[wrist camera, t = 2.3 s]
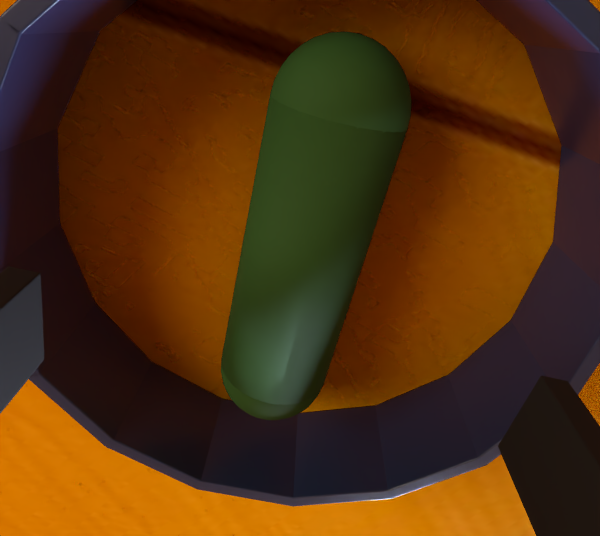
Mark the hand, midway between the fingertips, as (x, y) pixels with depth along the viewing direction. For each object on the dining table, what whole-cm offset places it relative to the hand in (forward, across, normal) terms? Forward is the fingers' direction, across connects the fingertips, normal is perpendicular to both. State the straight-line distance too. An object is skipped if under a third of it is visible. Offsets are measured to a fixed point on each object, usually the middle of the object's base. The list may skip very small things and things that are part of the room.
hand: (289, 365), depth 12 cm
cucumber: (+8, 0, 0) cm, 9 cm away
